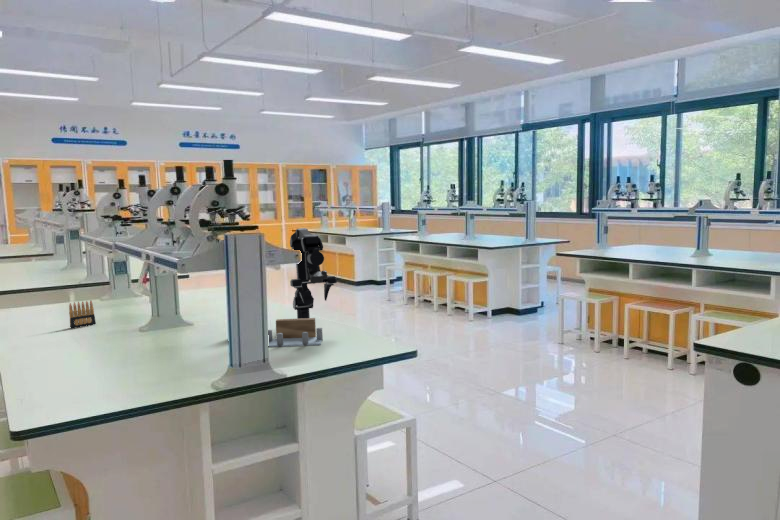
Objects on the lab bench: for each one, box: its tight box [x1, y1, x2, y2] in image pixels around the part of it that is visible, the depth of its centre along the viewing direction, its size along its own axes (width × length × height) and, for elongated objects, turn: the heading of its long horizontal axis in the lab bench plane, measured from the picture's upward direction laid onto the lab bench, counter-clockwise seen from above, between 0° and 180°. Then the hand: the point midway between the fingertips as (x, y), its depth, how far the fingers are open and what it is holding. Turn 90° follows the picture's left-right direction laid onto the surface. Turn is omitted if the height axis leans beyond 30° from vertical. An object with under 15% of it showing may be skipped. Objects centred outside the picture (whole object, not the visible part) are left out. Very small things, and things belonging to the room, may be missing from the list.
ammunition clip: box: [68, 300, 97, 329], centre depth 273 cm, size 11×2×12 cm, turn 129°
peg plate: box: [267, 327, 324, 348], centre depth 234 cm, size 10×23×5 cm, turn 92°
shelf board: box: [275, 317, 317, 338], centre depth 241 cm, size 3×16×8 cm, turn 92°
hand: (314, 301), depth 243 cm, fingers open, 9 cm apart
